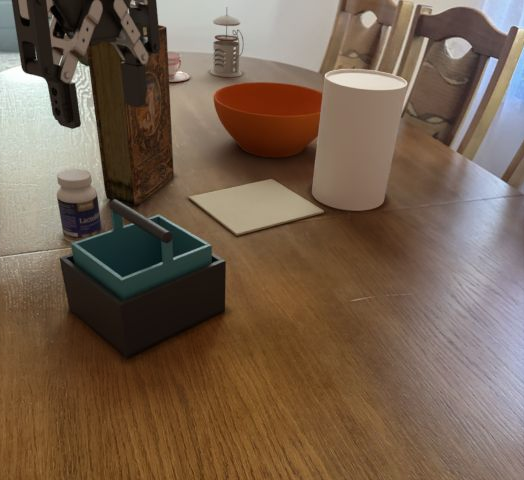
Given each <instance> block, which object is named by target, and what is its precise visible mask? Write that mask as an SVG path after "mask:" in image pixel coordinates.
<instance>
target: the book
mask: <svg viewBox="0 0 524 480" xmlns="http://www.w3.org/2000/svg"><path fill="white" fill-rule="evenodd" d="M158 25H159V36H160V51H159V53H157V54H154V53H153V54H151V55H150V56H149V57H148V62H147V63H146V64H145V72H146V87H147V95H146V104H145V105H144V106H141V107H135V106H131V105H128V104H126V103H125V101H124V93H123V83H122V72H121V63H122V62H125V60H123V59H122V58H121V56H120V55H119V53H118V52H117V50H116V49H115V47H114V45H113V44H112V43H110V42H106V41H103V42H101V43H100V44H98V45H95V46H88V48H87V54H88V62H89V66H88V68H89V69H88V70H89V76H90V85H91V93H92V101H93V107H94V108H93V109H94V117H95V123H96V132H97V140H98V148H99V155H100V163H101V172H102V179H103V187H104V193H105V197H106V200H111V201H112V200H122V201H127V202H129V203H131V204H133V205H134V206H137V205H139V204H141V203H143V202H144V201H145V200H146V199H147V198H149V197H150V196H151V195H153V194H154V193H155V192H157V191H158V190H159V189H160V188H162V187H163V186H164V185H165V184H167V183H168V182H169V181H170V180H172V179H173V178H174V177H175V173H174V156H173V155H174V153H173V135H172V134H173V133H172V113H171V112H172V111H171V95H170V94H171V91H170V82H169V69H168V31H167V30H168V29H167V27H166V26H164V25H161V24H158ZM143 32H144V37H146V38H147V28H146V26H145V25H144V24H143Z"/></svg>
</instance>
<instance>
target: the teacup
mask: <svg viewBox="0 0 524 480" xmlns="http://www.w3.org/2000/svg"><path fill="white" fill-rule="evenodd" d="M181 58H182V54H181V53H180V52H176V51H168V69H169V83H178V82H183V81H187V80H189V79H190V78H191V77H190V74H189V73H186V72H184V71H181V70H180V69H181V65H182V60H181ZM179 70H180V71H179Z"/></svg>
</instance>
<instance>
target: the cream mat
mask: <svg viewBox="0 0 524 480" xmlns="http://www.w3.org/2000/svg"><path fill="white" fill-rule="evenodd" d="M188 199H189V200H190V201H191V202H192V203H194V204H195V205H196V206H198V207H199V208H200V209H201V210H203V211H204V212H205V213H207V214H208V215H209V216H211V217H212V218H213V219H214V220H215V221H217V222H218V223H219V224H221V225H222V226H223V227H224V228H226V229H227V230H228V231H230V232H231V233H233V234H234V235H235V236H236V237H238V236H241V235H246V234H250V233H253V232H258V231H260V230H265V229H268V228H272V227H276V226H279V225H284V224H287V223H291V222H295V221H299V220H302V219H306V218H310V217H314V216H317V215H322V214H324V213H325V210H324V209H322V208H321V207H318V206H317V205H315V204H314V203H312V202H311V201H309V200H307V199H306V198H304V197H303V196H301V195H299V194H298V193H296V192H294V191H292V190H291V189H290V188H287V187H286V186H284V185H282V184H281V183H280V182H278V181H276V180H275V179H273V178H269V179H264V180H260V181H255V182H250V183H245V184H241V185H237V186H232V187H228V188H223V189H218V190H213V191H209V192H204V193H199V194H195V195H189V196H188Z"/></svg>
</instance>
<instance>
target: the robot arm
mask: <svg viewBox="0 0 524 480" xmlns="http://www.w3.org/2000/svg"><path fill="white" fill-rule="evenodd" d="M11 6H12V13H13V19H14V25H15V26H14V27H15V33H16V40H17V46H18V53H19V59H20V60H19V61H20V66H21V70H22V72H24V74H27V75H30V76H35V77H39V78H42V79H44V81H45V82H46V84H47V90H48V95H49V100H50V101H49V102H50V107H51V112H52V116H53V118H54V120H55V121H57V123H58V124H59V125H60V126H62V127H64V128H68V129H71V130H74V129H77V128H80V127H81V125H82V120H81V115H80V106H79V101H78V100H79V99H78V93H77V86H76V82H73V81H72V80H73V78H74V75H75V72H76V69H77V67H78V63H79V59H81V58H83V57H84V56H85V54H86V51H87V48H88V46H95V45H98V44H100V43H101V42H103V41H106V42H110V43H112V44H113V45H114V47H115V49H116V50H117V52H118V53H119V55H120V56H121V58H122V59H123V60H125V62H122V63H121V72H122V83H123V93H124V101H125V103H126V104H128V105H131V106H135V107H141V106H144V105H145V104H146V95H147V87H146V72H145V64H146V63H147V62H148V57H149V56H150V55H151V54H153V53H154V54H157V53H159V51H160V36H159V25H160V24H159V15H158V4H157V0H11ZM49 20H51V21H49ZM143 24H144V25H145V26H146V28H147V38H146V37H144V32H143ZM65 35H67V36H68V37H69V39H71V40H64V36H65Z"/></svg>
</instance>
